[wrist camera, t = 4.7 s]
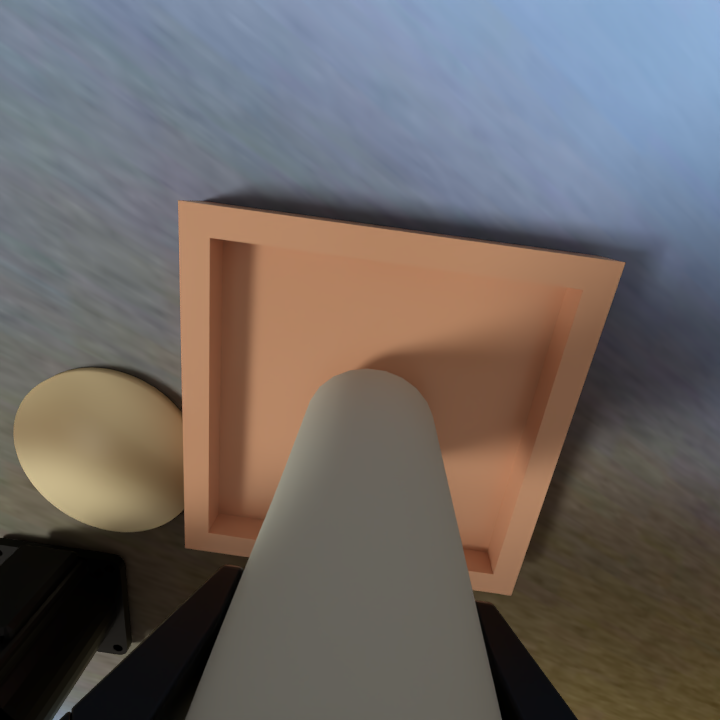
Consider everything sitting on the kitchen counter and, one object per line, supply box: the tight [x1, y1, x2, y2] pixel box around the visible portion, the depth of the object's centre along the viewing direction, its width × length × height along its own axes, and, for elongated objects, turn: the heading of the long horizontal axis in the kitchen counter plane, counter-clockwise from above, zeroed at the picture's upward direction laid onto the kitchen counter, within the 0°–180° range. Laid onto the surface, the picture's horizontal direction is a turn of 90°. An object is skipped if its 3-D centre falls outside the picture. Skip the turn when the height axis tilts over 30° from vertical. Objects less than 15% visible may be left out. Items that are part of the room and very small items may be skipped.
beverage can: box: [185, 369, 502, 720], centre depth 10 cm, size 5×5×12 cm
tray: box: [178, 200, 626, 596], centre depth 17 cm, size 14×14×2 cm
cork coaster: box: [13, 367, 184, 532], centre depth 19 cm, size 8×8×1 cm
